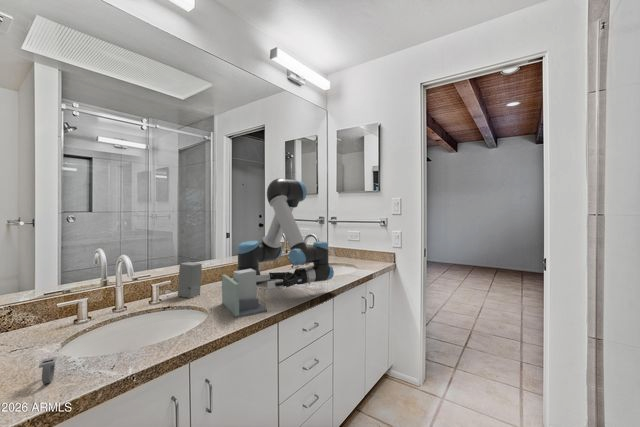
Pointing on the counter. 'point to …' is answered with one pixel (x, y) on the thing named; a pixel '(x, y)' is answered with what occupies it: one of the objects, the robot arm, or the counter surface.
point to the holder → (232, 300)
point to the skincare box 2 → (246, 283)
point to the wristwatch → (48, 369)
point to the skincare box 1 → (189, 279)
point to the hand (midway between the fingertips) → (261, 281)
